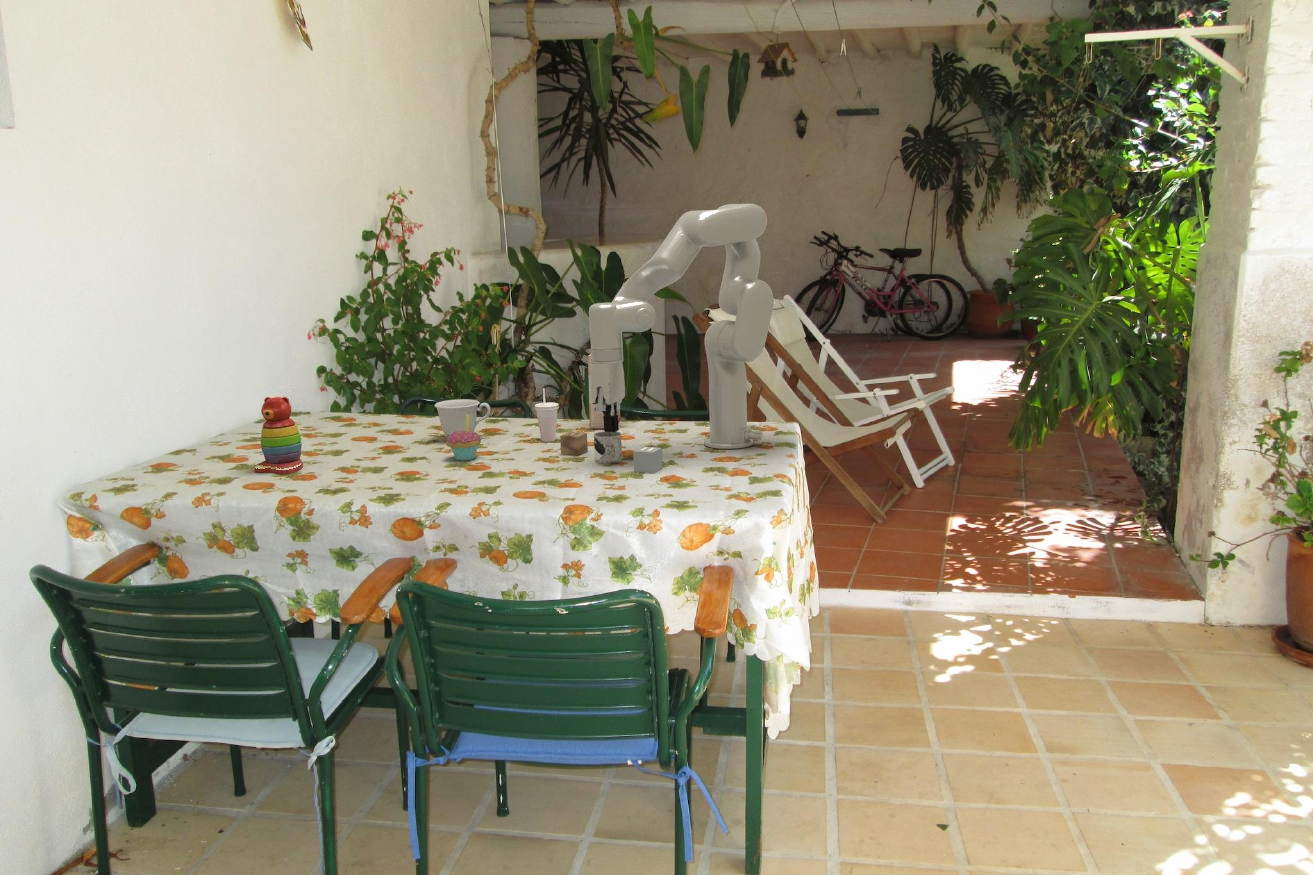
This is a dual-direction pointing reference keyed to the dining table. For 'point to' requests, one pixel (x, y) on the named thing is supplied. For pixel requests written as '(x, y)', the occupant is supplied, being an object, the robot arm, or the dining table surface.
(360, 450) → the dining table surface
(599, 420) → the cracker box
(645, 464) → the slate number block
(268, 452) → the stacking bear
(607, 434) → the mug
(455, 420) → the teacup
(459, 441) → the cupcake
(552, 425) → the smoothie
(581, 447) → the walnut number block
